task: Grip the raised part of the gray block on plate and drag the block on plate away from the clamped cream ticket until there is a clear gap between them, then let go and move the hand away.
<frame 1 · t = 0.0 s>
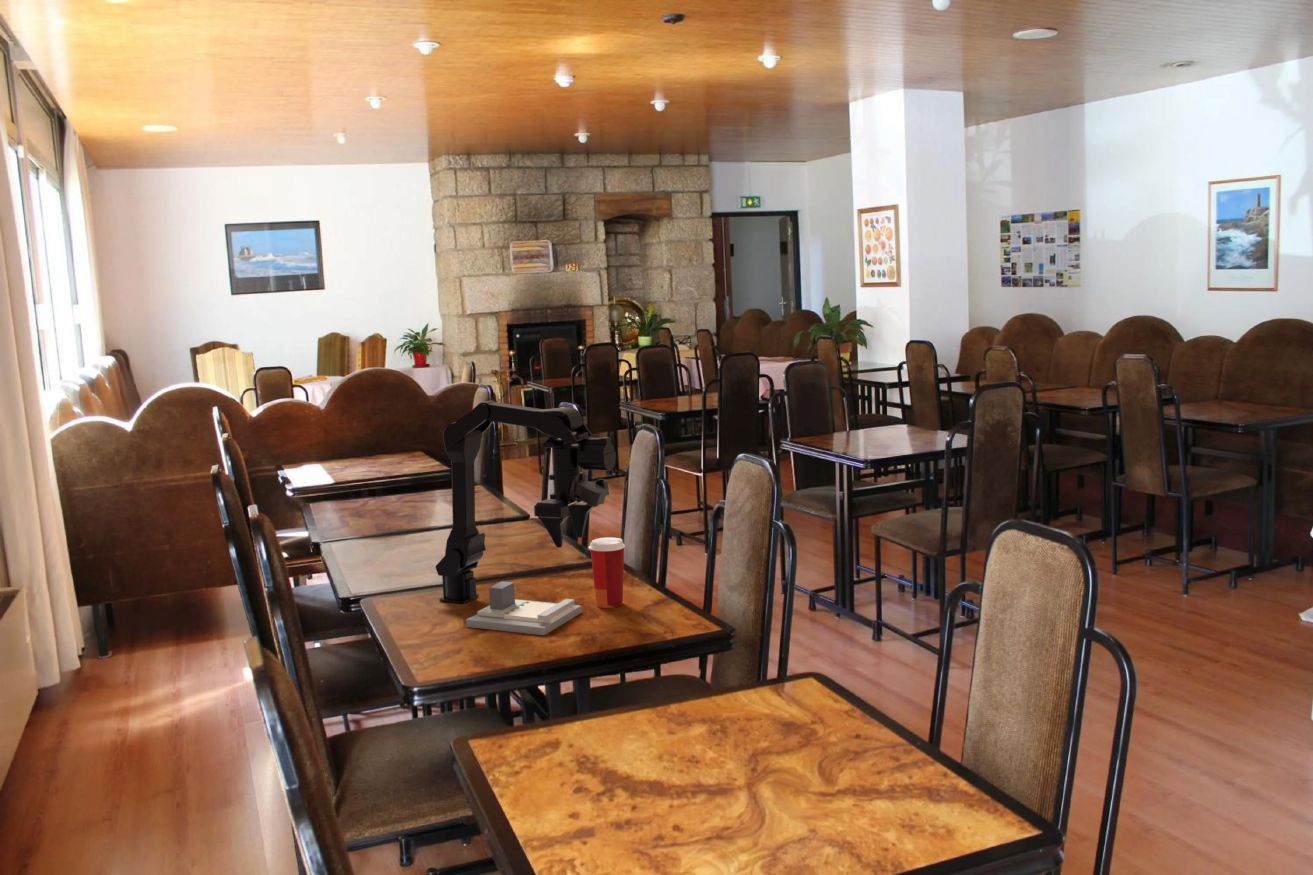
hand: (569, 542, 232), 15 cm above the table, tool pointing down, fingers open, 9 cm apart
gray block on plate: (502, 597, 230), point 4 cm above the table, slide at 0.0 cm
paper cup: (609, 605, 237), on the table
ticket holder: (525, 619, 229), on the table
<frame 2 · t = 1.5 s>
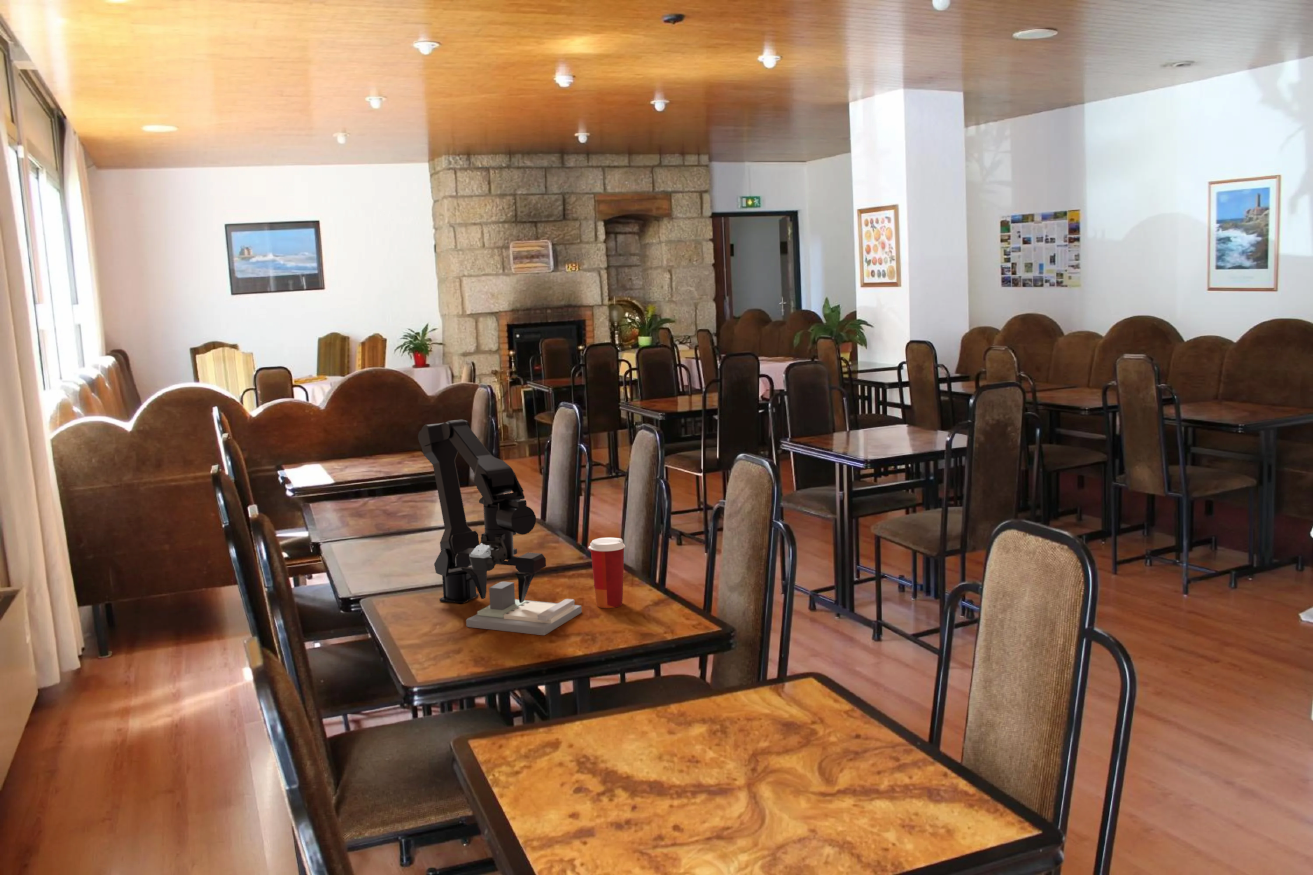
hand: (502, 600, 230), 4 cm above the table, tool pointing down, fingers open, 9 cm apart
nothing on the table moved.
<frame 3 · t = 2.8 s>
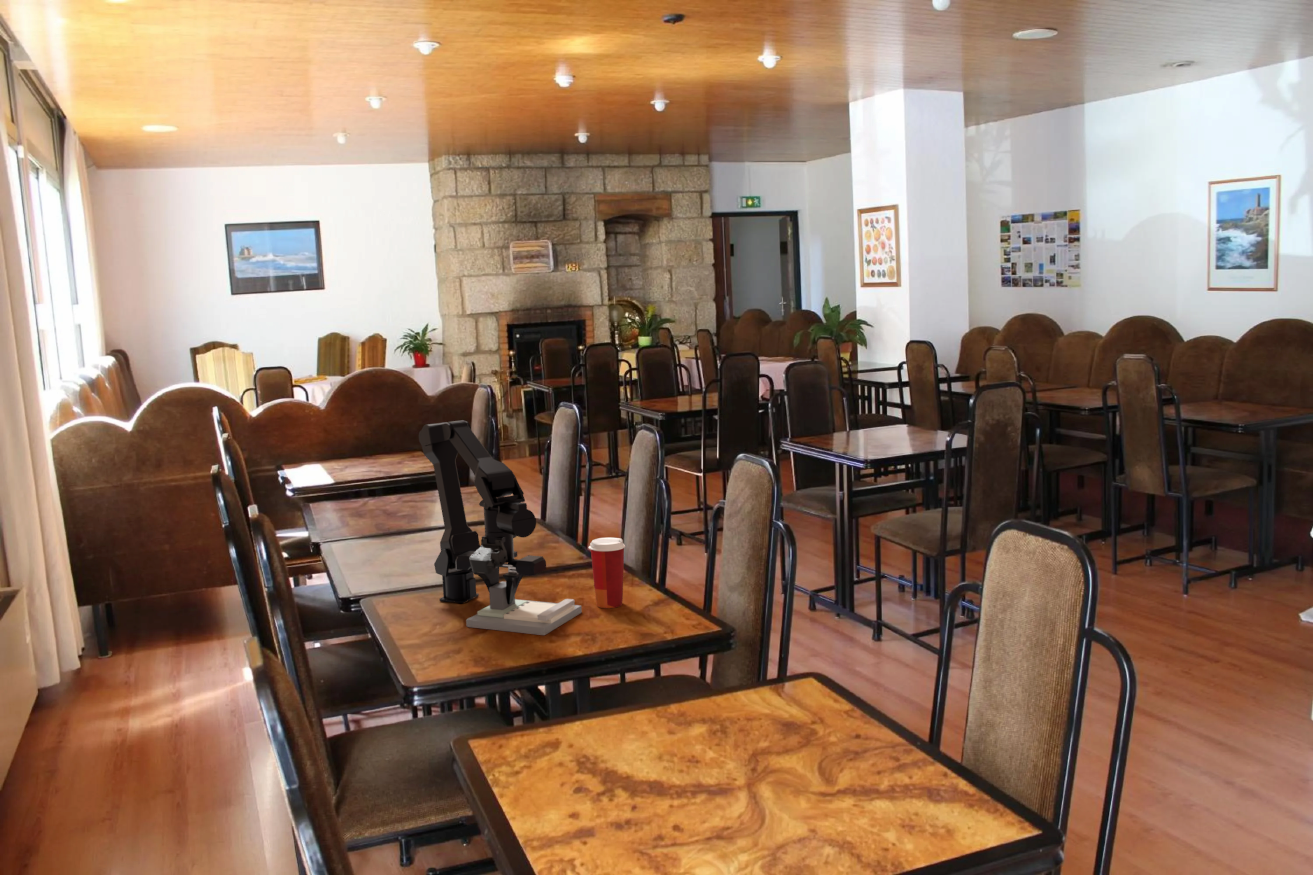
hand: (502, 603, 230), 3 cm above the table, tool pointing down, fingers closed on gray block on plate, 3 cm apart
gray block on plate: (502, 597, 230), point 4 cm above the table, slide at 0.0 cm, touching gripper
everything else where it was.
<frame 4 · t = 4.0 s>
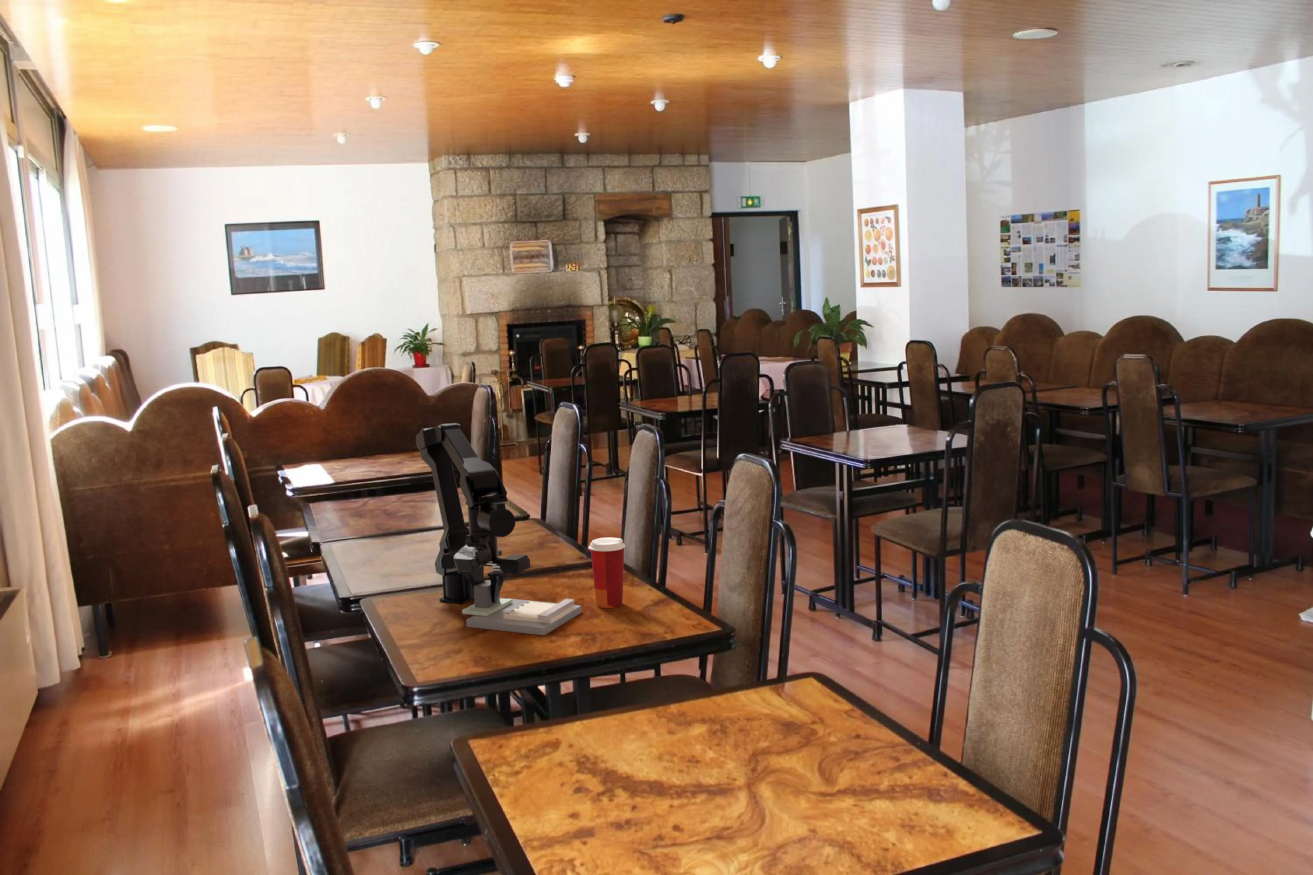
hand: (487, 601, 232), 3 cm above the table, tool pointing down, fingers closed on gray block on plate, 3 cm apart
gray block on plate: (487, 595, 232), point 4 cm above the table, slide at 3.7 cm, touching gripper
everything else where it was.
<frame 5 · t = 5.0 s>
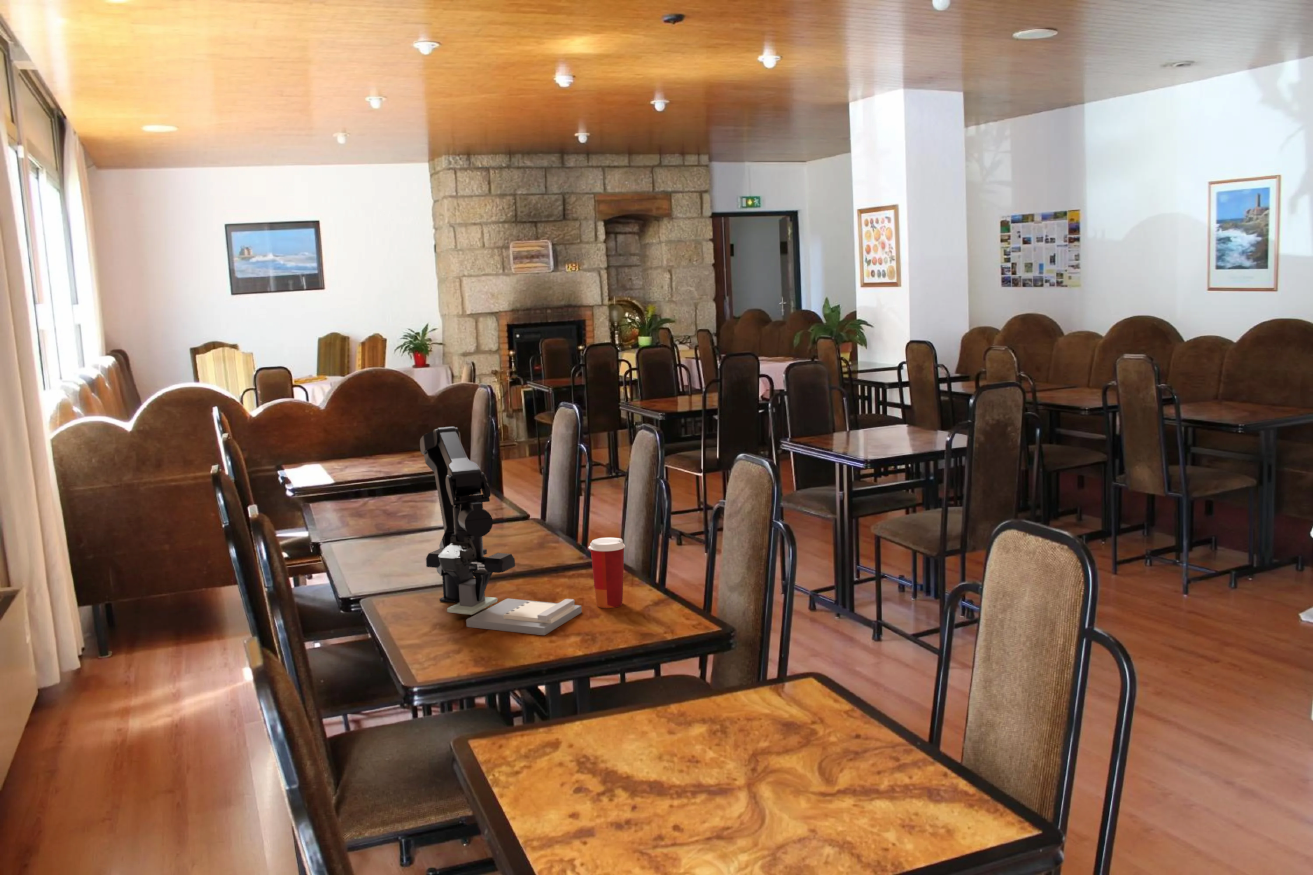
hand: (472, 600, 233), 3 cm above the table, tool pointing down, fingers closed on gray block on plate, 3 cm apart
gray block on plate: (472, 594, 233), point 4 cm above the table, slide at 7.4 cm, touching gripper
everything else where it was.
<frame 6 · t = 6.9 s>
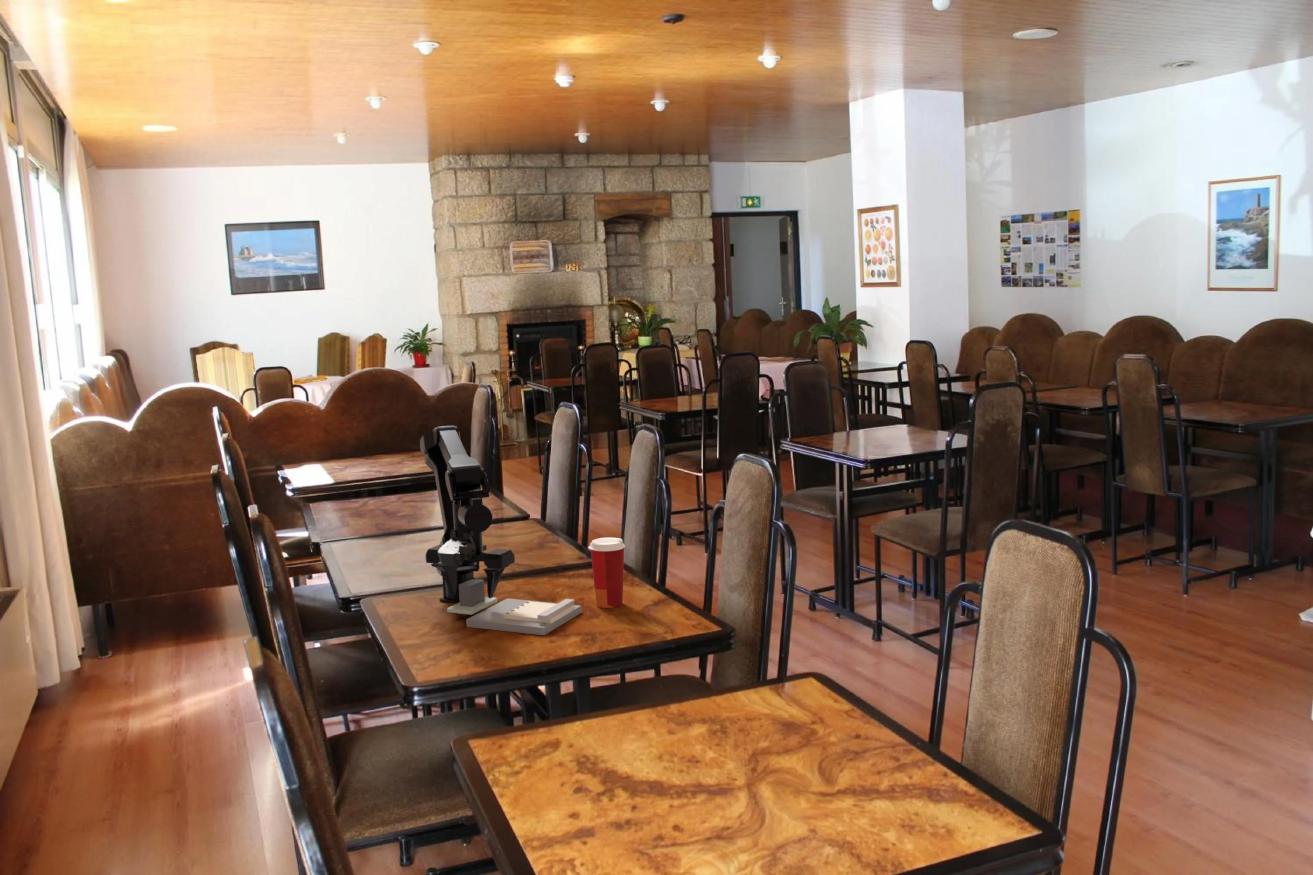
hand: (471, 596, 233), 4 cm above the table, tool pointing down, fingers open, 9 cm apart
gray block on plate: (471, 594, 233), point 4 cm above the table, slide at 7.4 cm
everything else where it was.
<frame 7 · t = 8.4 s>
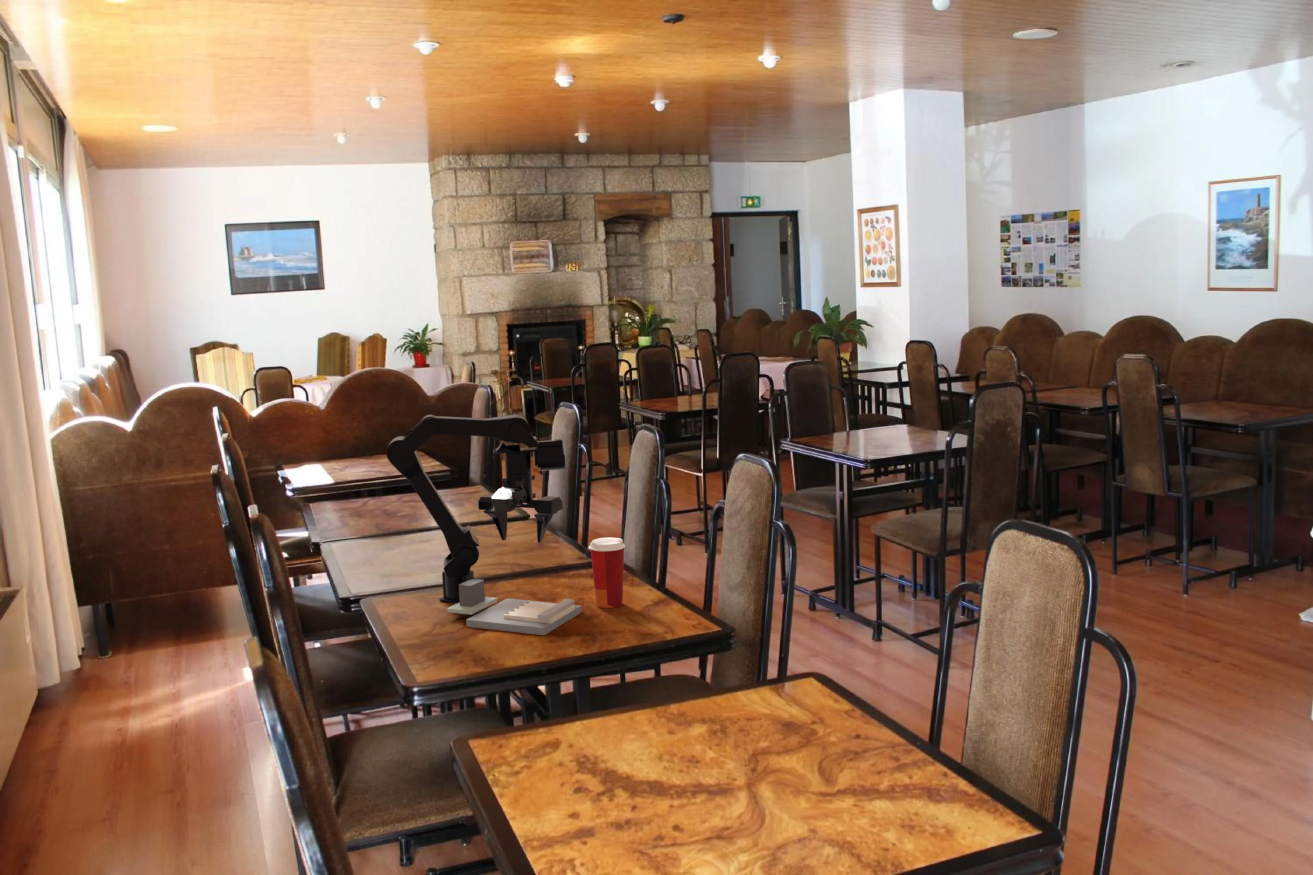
hand: (521, 541, 246), 12 cm above the table, tool pointing down, fingers open, 9 cm apart
nothing on the table moved.
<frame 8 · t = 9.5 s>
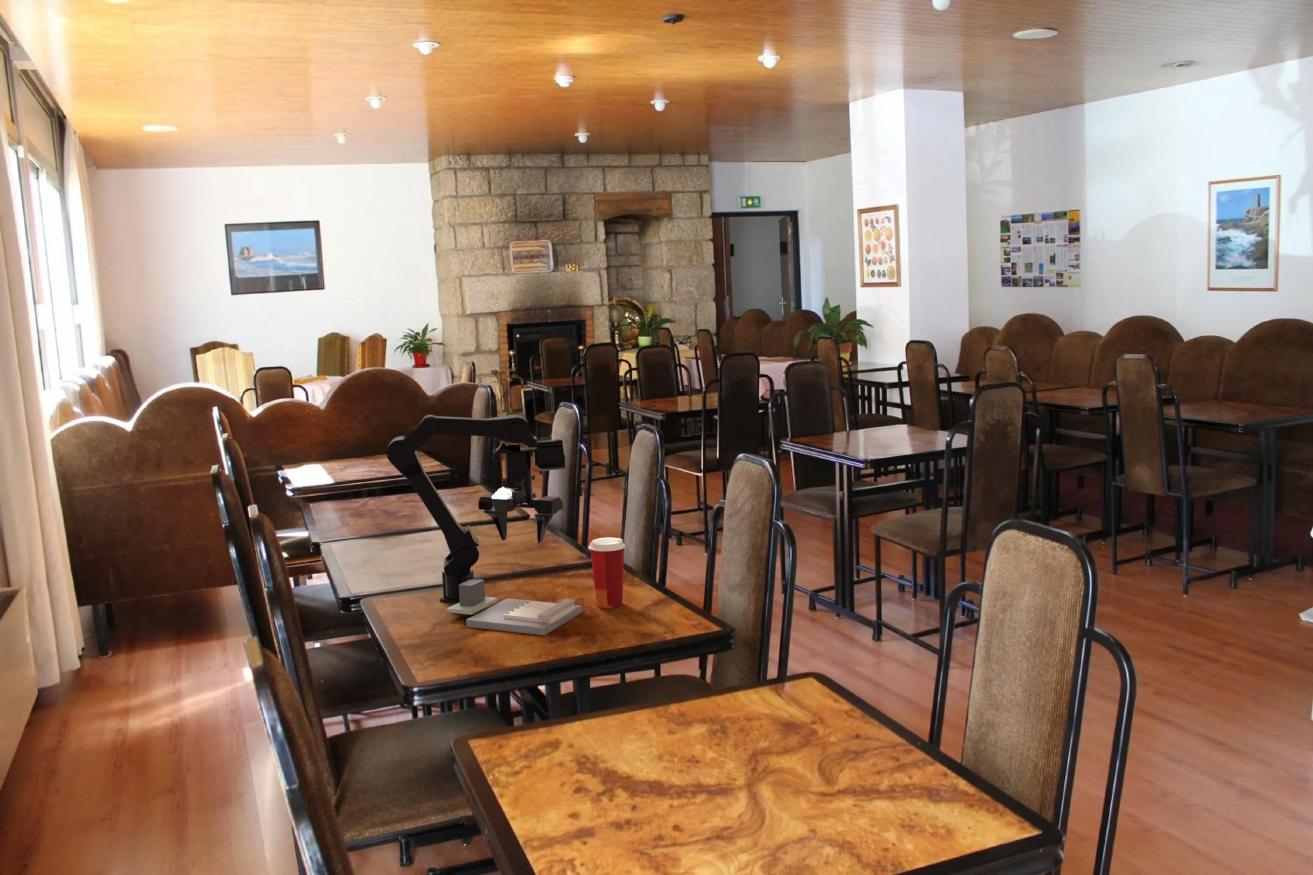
hand: (521, 541, 246), 12 cm above the table, tool pointing down, fingers open, 9 cm apart
nothing on the table moved.
at the end: gray block on plate slide at 7.4 cm; the gripper is holding nothing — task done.
